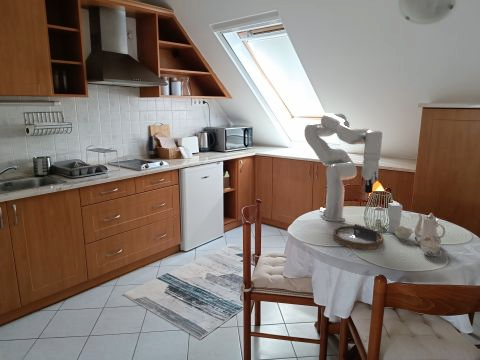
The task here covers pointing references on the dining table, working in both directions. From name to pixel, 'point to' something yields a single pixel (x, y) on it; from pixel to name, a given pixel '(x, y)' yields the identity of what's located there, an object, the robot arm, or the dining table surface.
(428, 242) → the chinaware
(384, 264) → the dining table surface
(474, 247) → the dining table surface
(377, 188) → the orange juice
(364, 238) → the dial
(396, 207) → the skincare box
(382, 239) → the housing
